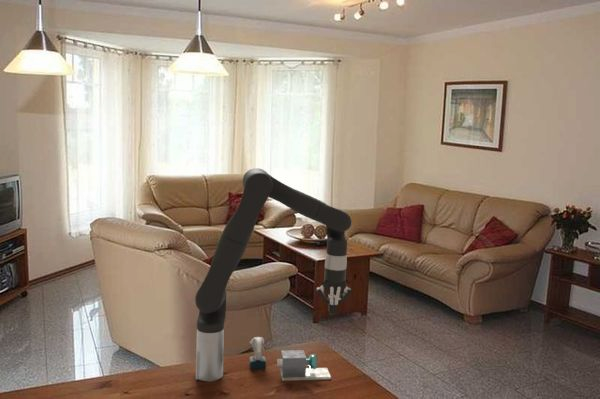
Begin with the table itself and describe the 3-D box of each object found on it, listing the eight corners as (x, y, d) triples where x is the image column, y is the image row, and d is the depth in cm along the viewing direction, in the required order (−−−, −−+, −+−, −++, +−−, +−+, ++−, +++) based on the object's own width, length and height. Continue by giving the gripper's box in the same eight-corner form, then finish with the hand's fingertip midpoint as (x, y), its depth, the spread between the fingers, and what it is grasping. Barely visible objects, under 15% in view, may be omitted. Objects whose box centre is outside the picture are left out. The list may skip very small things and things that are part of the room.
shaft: (278, 372, 191) (278, 358, 190) (276, 366, 196) (277, 352, 195) (316, 371, 193) (317, 358, 192) (314, 365, 198) (314, 352, 197)
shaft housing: (282, 380, 190) (283, 358, 189) (280, 371, 197) (281, 350, 196) (330, 379, 193) (331, 357, 192) (327, 370, 200) (328, 349, 199)
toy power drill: (264, 362, 204) (265, 333, 203) (265, 371, 197) (267, 342, 195) (249, 362, 204) (249, 333, 202) (250, 372, 196) (251, 342, 194)
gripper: (318, 269, 188) (315, 317, 191) (356, 269, 190) (353, 318, 192) (315, 263, 195) (312, 310, 198) (351, 264, 197) (348, 310, 200)
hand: (332, 314), depth 195 cm, fingers closed
